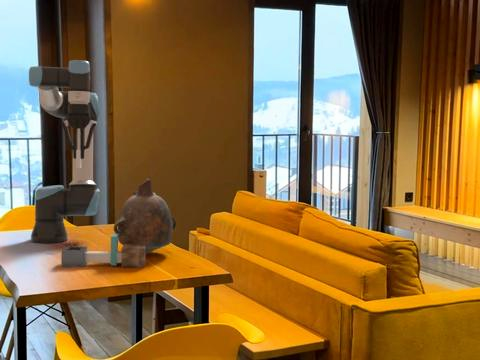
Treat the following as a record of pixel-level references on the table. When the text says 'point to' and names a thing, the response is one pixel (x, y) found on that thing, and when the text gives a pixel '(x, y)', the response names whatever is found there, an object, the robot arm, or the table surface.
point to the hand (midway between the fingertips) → (78, 167)
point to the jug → (145, 220)
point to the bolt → (106, 254)
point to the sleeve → (73, 257)
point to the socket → (133, 255)
